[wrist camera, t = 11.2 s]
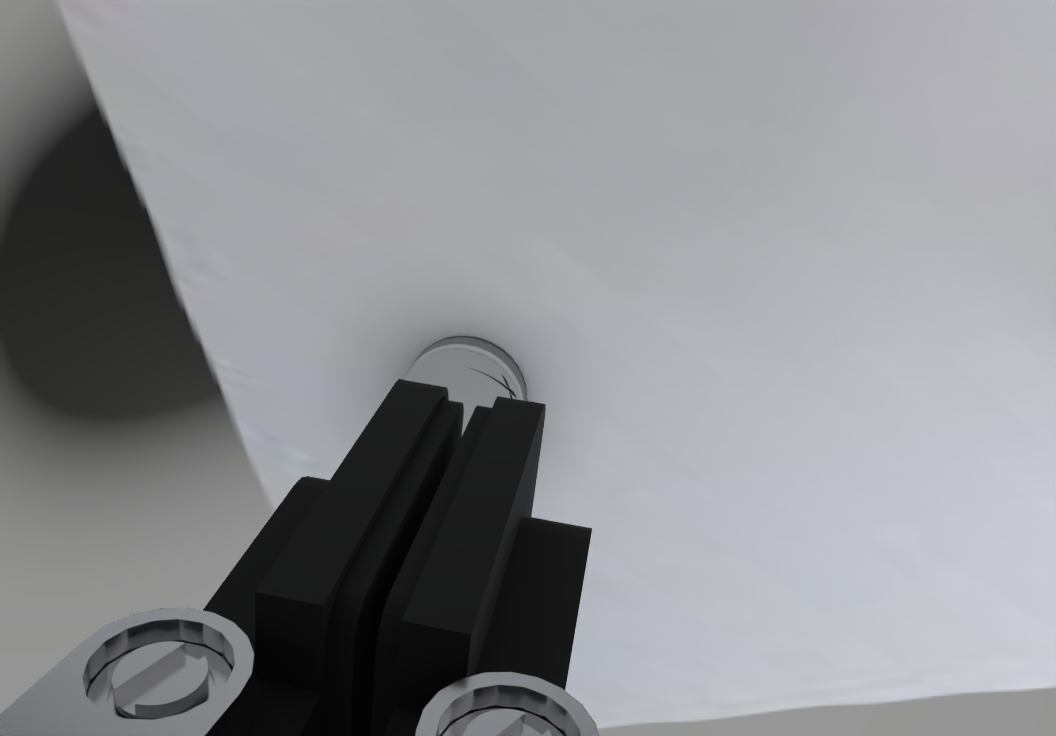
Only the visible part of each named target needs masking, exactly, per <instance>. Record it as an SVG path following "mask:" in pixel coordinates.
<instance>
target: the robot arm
mask: <svg viewBox="0 0 1056 736" xmlns="http://www.w3.org/2000/svg"><path fill="white" fill-rule="evenodd" d="M463 417H464V405H463V403H461V402H455V401H449V394H448V389H447V387H442V386H436V385H430V384H425V383H419V382H413V381H407V380H402V379H399V380H398V381H397V382H396V383H395V384H394V386H393V387H392V389H391V390H390V392H389V393H388V395H387V396H386V398H385V399H384V401H383V402H382V404H381V405H380V407H379V408H378V410H377V411H376V413H375V414H374V416H373V417H372V419H371V420H370V422H369V423H368V425H367V426H366V428H365V429H364V430H363V432H362V433H361V435H360V436H359V438H358V439H357V441H356V442H355V444H354V445H353V447H352V448H351V450H350V451H349V453H348V454H347V456H346V457H345V459H344V460H343V462H342V463H341V465H340V466H339V468H338V469H337V471H336V472H335V474H334V475H333V477H332V478H331V480H325V479H320V478H314V477H309V476H307V477H302V478H301V479H300V480H299V481H298V482H297V483H296V484H295V485H294V486H293V488H292V489H291V490H290V492H289V493H288V495H287V496H286V497H285V499H284V500H283V501H282V503H281V504H280V505H279V507H278V508H277V510H276V511H275V512H274V514H273V515H272V516H271V518H270V519H269V520H268V522H267V523H266V525H265V526H264V527H263V529H262V530H261V531H260V533H259V534H258V536H257V537H256V538H255V540H254V541H253V543H252V544H251V545H250V547H249V548H248V549H247V551H246V552H245V553H244V555H243V556H242V558H241V559H240V560H239V561H238V563H237V564H236V566H235V567H234V568H233V570H232V571H231V572H230V574H229V575H228V577H227V578H226V579H225V581H224V582H223V583H222V585H221V586H220V587H219V589H218V590H217V592H216V593H215V594H214V596H213V597H212V598H211V600H210V601H209V602H208V604H207V605H206V607H205V608H204V609H203V610H197V609H192V608H160V609H155V610H150V611H146V612H141V613H136V614H132V615H129V616H127V617H125V618H122V619H120V620H117V621H115V622H112V623H110V624H108V625H106V626H104V627H103V628H101V629H100V630H99V631H97V632H95V633H94V634H93V635H91V636H90V637H88V638H87V639H85V640H84V641H83V642H82V643H81V644H79V645H78V646H77V647H76V648H75V649H74V650H73V651H71V652H70V653H69V654H68V655H67V656H66V657H65V658H64V659H62V660H61V661H60V662H59V663H58V664H57V665H55V667H53V668H52V669H51V670H50V671H49V672H48V673H46V674H45V675H44V676H43V677H42V678H41V679H40V680H39V681H37V682H36V683H35V684H34V685H33V686H32V687H30V688H29V689H28V690H27V691H26V692H25V693H24V694H23V695H22V696H20V697H19V698H18V699H17V700H16V701H15V702H13V703H12V704H11V705H10V706H9V707H8V708H7V709H5V710H4V711H3V712H2V713H1V714H0V736H599V733H598V729H597V726H596V723H595V722H594V720H593V719H592V718H591V716H590V715H589V713H588V712H587V711H586V709H585V708H584V706H583V705H582V704H581V703H580V702H579V701H577V700H576V699H575V698H574V697H572V696H571V695H570V694H569V693H567V692H566V691H565V687H566V681H567V675H568V670H569V664H570V658H571V652H572V646H573V640H574V634H575V628H576V622H577V616H578V610H579V604H580V598H581V592H582V586H583V580H584V574H585V568H586V562H587V556H588V550H589V544H590V538H591V532H592V528H586V527H581V526H575V525H570V524H564V523H559V522H554V521H548V520H543V519H537V518H532V517H531V514H532V507H533V499H534V492H535V485H536V478H537V470H538V463H539V456H540V448H541V441H542V434H543V427H544V419H545V404H541V403H535V402H529V401H523V400H517V399H512V398H506V397H500V396H497V398H496V400H495V402H494V404H493V407H492V408H490V407H484V406H478V405H477V406H476V407H475V409H474V412H473V414H472V416H471V418H470V420H469V422H468V424H467V427H466V429H465V431H464V433H463V435H462V427H463Z"/></svg>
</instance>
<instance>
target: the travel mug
mask: <svg viewBox="0 0 1056 736" xmlns="http://www.w3.org/2000/svg"><path fill="white" fill-rule="evenodd" d="M403 380H407V381H413V382H419V383H425V384H430V385H436V386H442V387H447V389H448V394H449V401H455V402H461V403H463V405H464V417H463V427H462V435H463V433H464V431H465V429H466V427H467V424H468V422H469V420H470V418H471V416H472V414H473V412H474V409H475V407H476V406H477V405H478V406H484V407H490V408H492V407H493V404H494V402H495V400H496V398H497V396H500V397H506V398H512V399H517V400H523V401H526V400H527V399H526V387H525V384H524V380H523V377H522V375H521V373H520V371H519V369H518V367H517V366H516V365H515V363H514V362H513V361H512V360H511V358H510V357H508V356H507V355H506V354H505V353H504V352H503V351H502V350H500V349H498V348H497V347H495V346H494V345H492V344H490V343H487V342H485V341H482V340H479V339H474V338H469V337H455V338H449V339H444V340H442V341H439V342H437V343H434V344H433V345H431V346H430V347H428V348H427V349H425V350H424V351H423V353H422V354H421V355H420V356H419V357H418V358H417V359H416V361H415V363H414V364H413V366H412V367H411V369H410V370H409V372H408V373H407V375H406V376H405V378H404V379H403Z"/></svg>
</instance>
